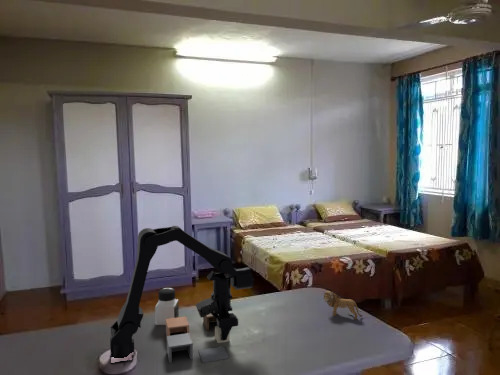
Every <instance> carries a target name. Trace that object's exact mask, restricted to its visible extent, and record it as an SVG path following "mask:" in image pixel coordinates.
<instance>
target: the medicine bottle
mask: <svg viewBox="0 0 500 375" xmlns="http://www.w3.org/2000/svg"><path fill="white" fill-rule="evenodd" d="M157 295H158V302H157V303H156V305H155V306H154V311H155V312H154V314H155V325H156V326H166V319H169V318H177V317H180V316H179V313H180V312H179V308H180V305H179V299H178V298H177V299H176V289H174V288H172V287H165V288H161V289H160V290H158V294H157Z"/></svg>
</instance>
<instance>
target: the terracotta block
mask: <svg viewBox="0 0 500 375" xmlns="http://www.w3.org/2000/svg"><path fill="white" fill-rule="evenodd" d="M182 332H184V334H186V333H189V334H190V324H189V321H188V319H187V316H179V317H177V318H169V319H166V325H165V334H166V337H167V336H171V334H174V333H182Z"/></svg>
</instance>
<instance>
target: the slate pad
mask: <svg viewBox="0 0 500 375" xmlns="http://www.w3.org/2000/svg"><path fill="white" fill-rule="evenodd" d="M198 353H199V357H200V359H201V361H202V364H203V363H210V362H211V363H212V362H216V361H223V360H228V359H230V358H229V355H228V352H227V351H226V349H225V347H224V346H218V347H211V348H210V347H209V348H204V349H198Z"/></svg>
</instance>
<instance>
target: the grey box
mask: <svg viewBox="0 0 500 375" xmlns="http://www.w3.org/2000/svg"><path fill="white" fill-rule="evenodd" d="M179 351H187V353H188V355H189V356H188V357H189V359H190V360H193V354H194V351H193V340H192V337H191V334H190V332H189V333H186V334H185V333H181V334H174V335H170V336H167V335H166V354H167V358H168V363H171V364H172V363H173V361H172V360H173V356H172V353H174V352H179Z"/></svg>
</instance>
